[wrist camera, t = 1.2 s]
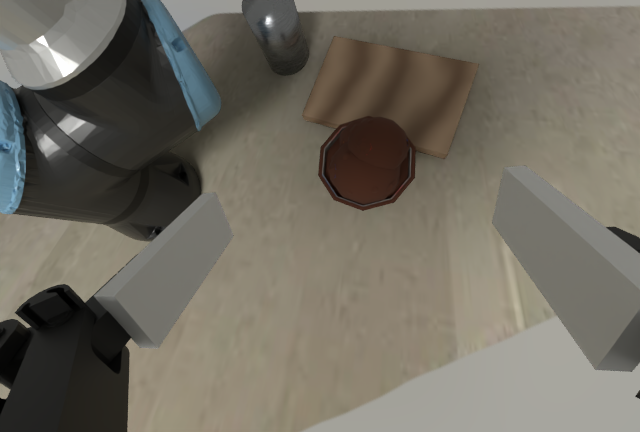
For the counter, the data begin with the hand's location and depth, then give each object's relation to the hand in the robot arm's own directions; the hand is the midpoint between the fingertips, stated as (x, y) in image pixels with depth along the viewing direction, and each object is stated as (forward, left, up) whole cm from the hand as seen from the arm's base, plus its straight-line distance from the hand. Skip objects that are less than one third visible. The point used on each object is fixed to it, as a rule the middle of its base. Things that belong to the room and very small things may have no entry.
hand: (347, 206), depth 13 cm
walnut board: (-4, +22, -26) cm, 34 cm away
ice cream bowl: (-2, +8, -26) cm, 27 cm away
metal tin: (-22, +25, -26) cm, 42 cm away
